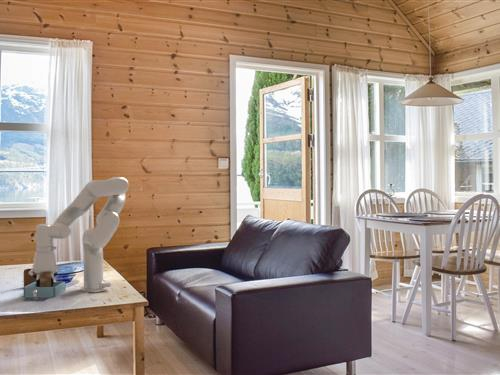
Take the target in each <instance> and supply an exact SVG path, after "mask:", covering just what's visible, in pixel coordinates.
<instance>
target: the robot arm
mask: <svg viewBox="0 0 500 375" xmlns="http://www.w3.org/2000/svg"><path fill="white" fill-rule="evenodd" d="M129 189H130V184H129V181H128V180H127V178H125V177H122V176H113V177H111V178H108V179H102V180H93V179H92V180H90V181H88V182H87V183H86V185H85V186H84V187H83V188H82V190H80V192H79V193H78V195H77V196H76V197H75V198H74V199H73V201H72V202H71V203H70V204H69V205H68V206H67V207H66V208H65V209H64V210H63V211H62V212H61V213H60V214H59V216H58V217H57V218H56V220H55V221H54V222H53V223H52V224H51V223H40V224H37V225H36V226H35V227H36V229H35V230H36V231H35V232H36V237H35V238H36V239H35V240H36V244H35V245H36V247H35V248H36V252H34V255H33V262H32V263H33V266H32V267H31V268H32V269H31V268H30V269H31V270H30V271H29V274H30V275H31V276H33V277H34V278H35V279H36V286H38V287H40V280H39V277H40V272H51V287H53V285H54V282H55V281H54V280H55V278H56V276H57V275H58V274H60V273H61V272H62V270H61V268H60V267H59V266H58V265H57V259H56V253H55V251H54V250H57V246H54V240H56V239H58V240H64V239H67V238H69V236H70V235H71V231H72V230H71V225H72V224H73V223H74V222H75V221H76V220H77V219H78V218H80V217H82V216H84V215H85V214H86V213H87V212H88V211H89V210H90V209H91V207H92V206H93V205H94V204H95V202H96V201H97V200H98V198H99V199H100V198H106V197H107V198H108V199H107V201H106V202H105V203H104V205H103V207H102V209H101V210H100V211H99V213H97V216H96V217H95V221H96V222H95V223H96V226H95V227H89V228H88V229H86V230H85V231H84V232H83V234H82V237H81V238H82V240H81V242H82V250H83V286H82V287H80V289H79V290H80V291H83V292H88V293H101V292H104V291H106V290H107V288H111V287H112V282H106V280H105V279H104V248H105V247H106V245H107V244H108V243H109V242H110V240H111V238H112V237H113V235H114V234H115V232H116V231H117V230H118V228H119V226H120V216H119V215H120V214H121V212H122V210H123V208H124V206H125V204H126V199H127V198H126V197H127V196H126V193H127V191H129ZM33 271H34V272H35V273H36V275H35V274H33Z"/></svg>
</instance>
